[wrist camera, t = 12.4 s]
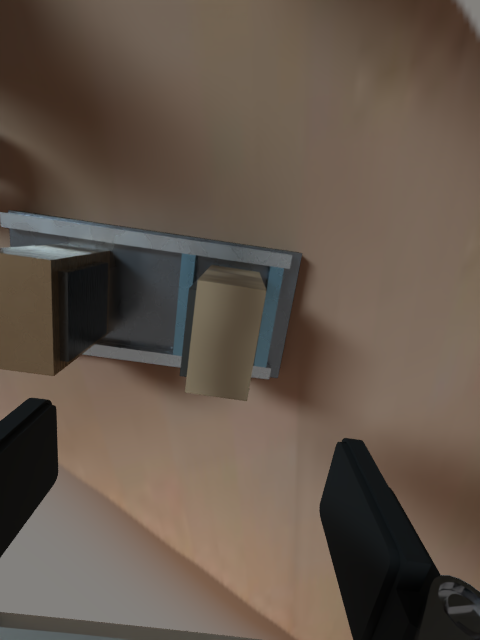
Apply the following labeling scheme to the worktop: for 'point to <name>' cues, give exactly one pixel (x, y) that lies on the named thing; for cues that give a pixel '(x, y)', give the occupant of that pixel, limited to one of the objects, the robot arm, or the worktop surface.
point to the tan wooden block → (222, 332)
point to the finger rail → (120, 293)
